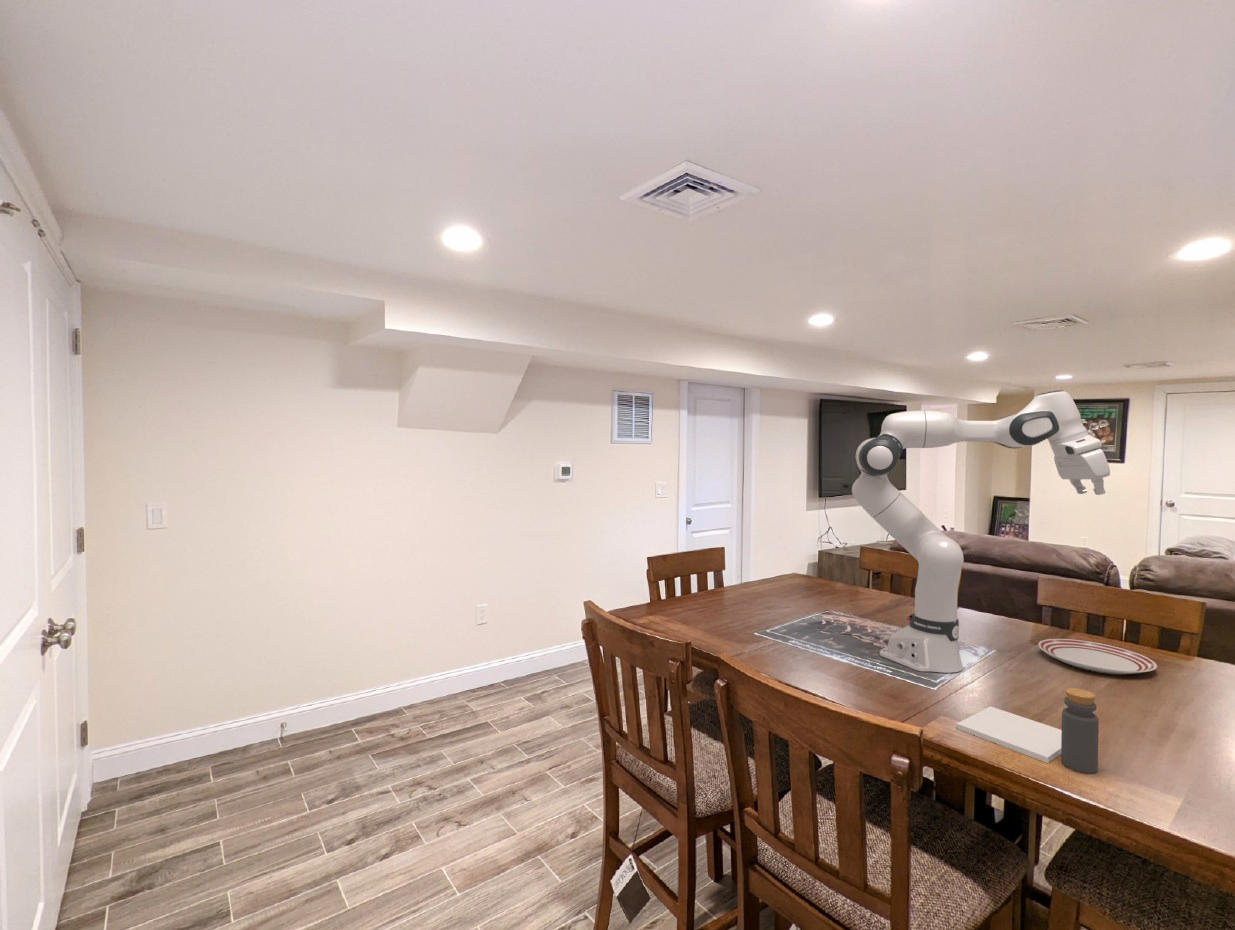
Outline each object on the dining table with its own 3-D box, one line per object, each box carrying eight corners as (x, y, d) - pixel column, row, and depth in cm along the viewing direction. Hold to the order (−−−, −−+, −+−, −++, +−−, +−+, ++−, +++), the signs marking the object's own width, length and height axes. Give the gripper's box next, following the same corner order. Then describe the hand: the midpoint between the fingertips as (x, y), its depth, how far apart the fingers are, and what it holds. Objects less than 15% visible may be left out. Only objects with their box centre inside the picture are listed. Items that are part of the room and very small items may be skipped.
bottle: (1053, 759, 122) (1054, 687, 122) (1080, 757, 123) (1081, 686, 122) (1078, 774, 116) (1079, 699, 116) (1105, 773, 117) (1107, 698, 116)
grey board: (956, 728, 136) (956, 723, 136) (990, 711, 144) (990, 706, 144) (1047, 763, 121) (1047, 757, 121) (1078, 741, 130) (1079, 735, 130)
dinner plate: (1110, 649, 188) (1110, 638, 188) (1183, 683, 161) (1184, 671, 161) (1018, 646, 191) (1019, 636, 191) (1075, 679, 164) (1076, 668, 164)
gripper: (1042, 451, 174) (1061, 496, 172) (1077, 448, 154) (1098, 498, 152) (1066, 444, 172) (1084, 489, 171) (1104, 439, 152) (1125, 490, 151)
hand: (1091, 493), depth 161 cm, fingers open, 8 cm apart
